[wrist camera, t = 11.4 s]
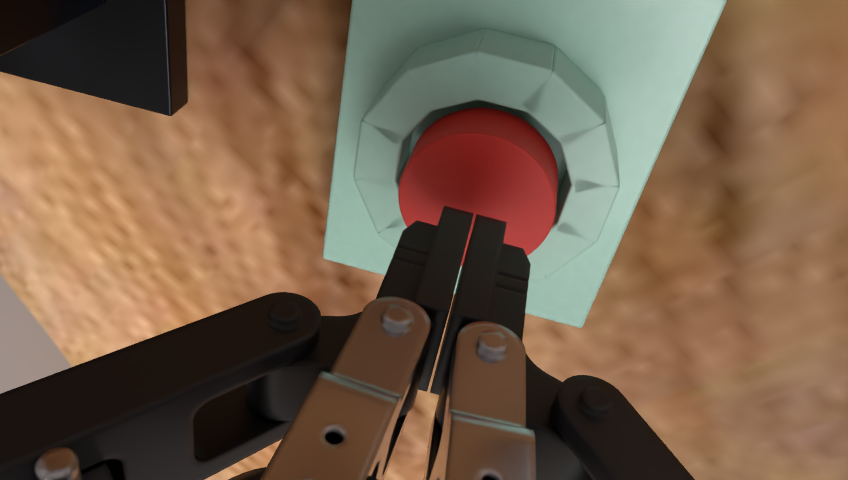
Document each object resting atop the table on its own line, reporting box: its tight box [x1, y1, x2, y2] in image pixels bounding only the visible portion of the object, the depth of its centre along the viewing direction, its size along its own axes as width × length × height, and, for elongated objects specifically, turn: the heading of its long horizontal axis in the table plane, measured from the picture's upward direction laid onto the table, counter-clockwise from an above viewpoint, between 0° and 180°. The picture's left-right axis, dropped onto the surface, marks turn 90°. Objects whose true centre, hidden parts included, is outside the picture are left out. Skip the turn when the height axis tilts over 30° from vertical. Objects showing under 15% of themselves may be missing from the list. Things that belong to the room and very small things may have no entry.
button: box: [398, 108, 558, 266], centre depth 18 cm, size 4×4×2 cm
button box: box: [323, 0, 727, 328], centre depth 20 cm, size 11×9×4 cm
